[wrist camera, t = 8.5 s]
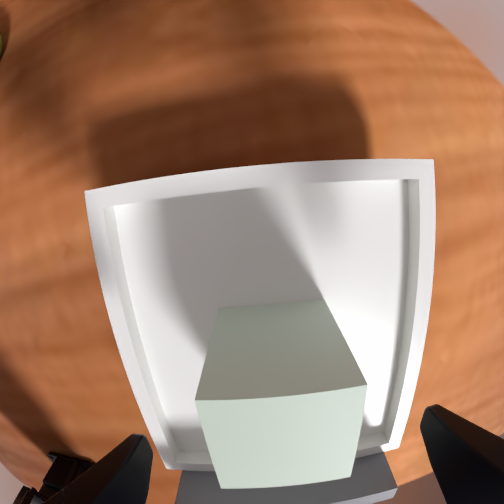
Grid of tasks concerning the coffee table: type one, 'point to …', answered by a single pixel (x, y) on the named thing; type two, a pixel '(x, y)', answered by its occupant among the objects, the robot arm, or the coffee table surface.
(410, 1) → the coffee table surface
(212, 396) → the part block
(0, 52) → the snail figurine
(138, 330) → the tray
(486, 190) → the coffee table surface
